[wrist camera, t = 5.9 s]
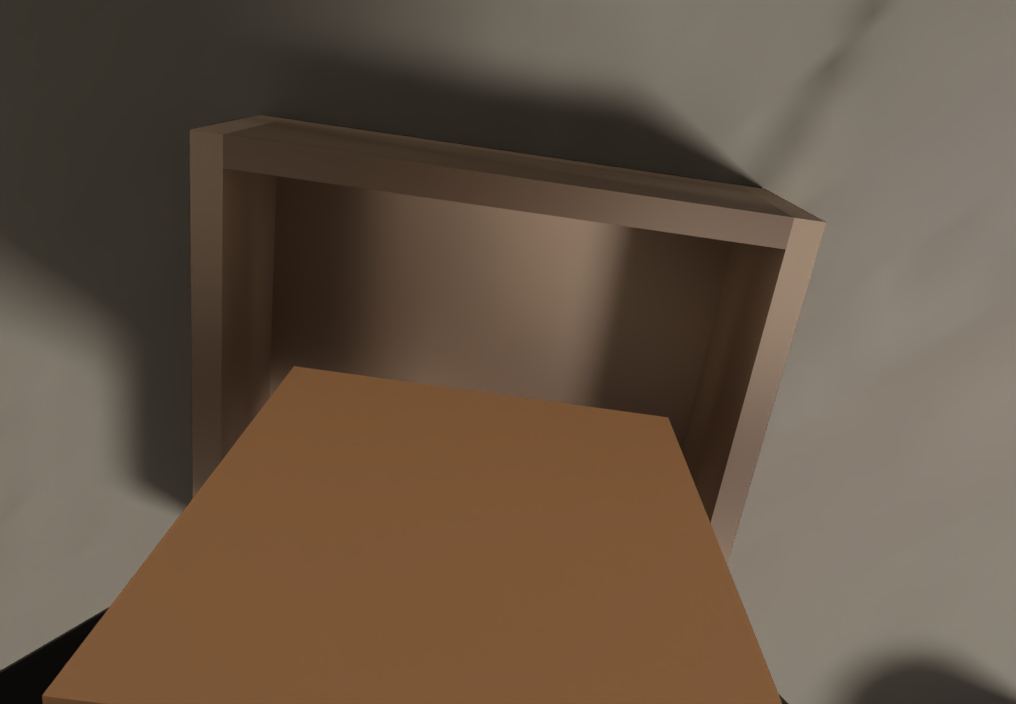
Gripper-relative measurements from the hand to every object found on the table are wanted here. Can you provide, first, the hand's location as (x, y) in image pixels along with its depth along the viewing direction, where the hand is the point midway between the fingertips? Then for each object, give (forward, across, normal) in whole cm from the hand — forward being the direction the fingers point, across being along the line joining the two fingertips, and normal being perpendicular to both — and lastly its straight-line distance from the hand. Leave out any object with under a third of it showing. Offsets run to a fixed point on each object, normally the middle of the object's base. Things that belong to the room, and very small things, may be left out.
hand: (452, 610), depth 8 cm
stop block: (+1, 0, 0) cm, 1 cm away
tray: (+6, 0, 0) cm, 6 cm away
